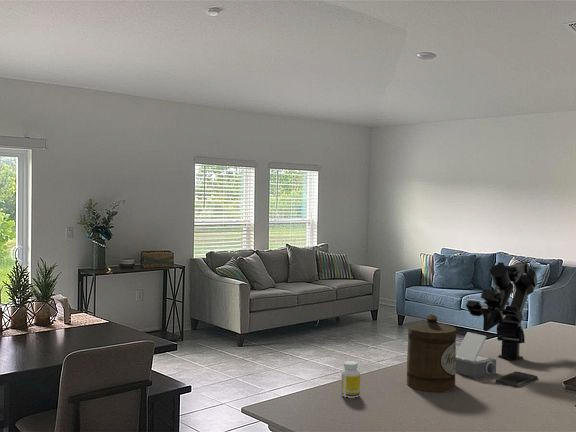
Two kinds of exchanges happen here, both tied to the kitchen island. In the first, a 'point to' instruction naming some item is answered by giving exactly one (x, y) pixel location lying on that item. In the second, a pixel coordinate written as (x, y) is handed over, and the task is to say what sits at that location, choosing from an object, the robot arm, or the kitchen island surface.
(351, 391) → the supplement bottle
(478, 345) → the side door
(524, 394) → the kitchen island surface
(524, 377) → the phone
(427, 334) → the wooden container
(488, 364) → the camera case
